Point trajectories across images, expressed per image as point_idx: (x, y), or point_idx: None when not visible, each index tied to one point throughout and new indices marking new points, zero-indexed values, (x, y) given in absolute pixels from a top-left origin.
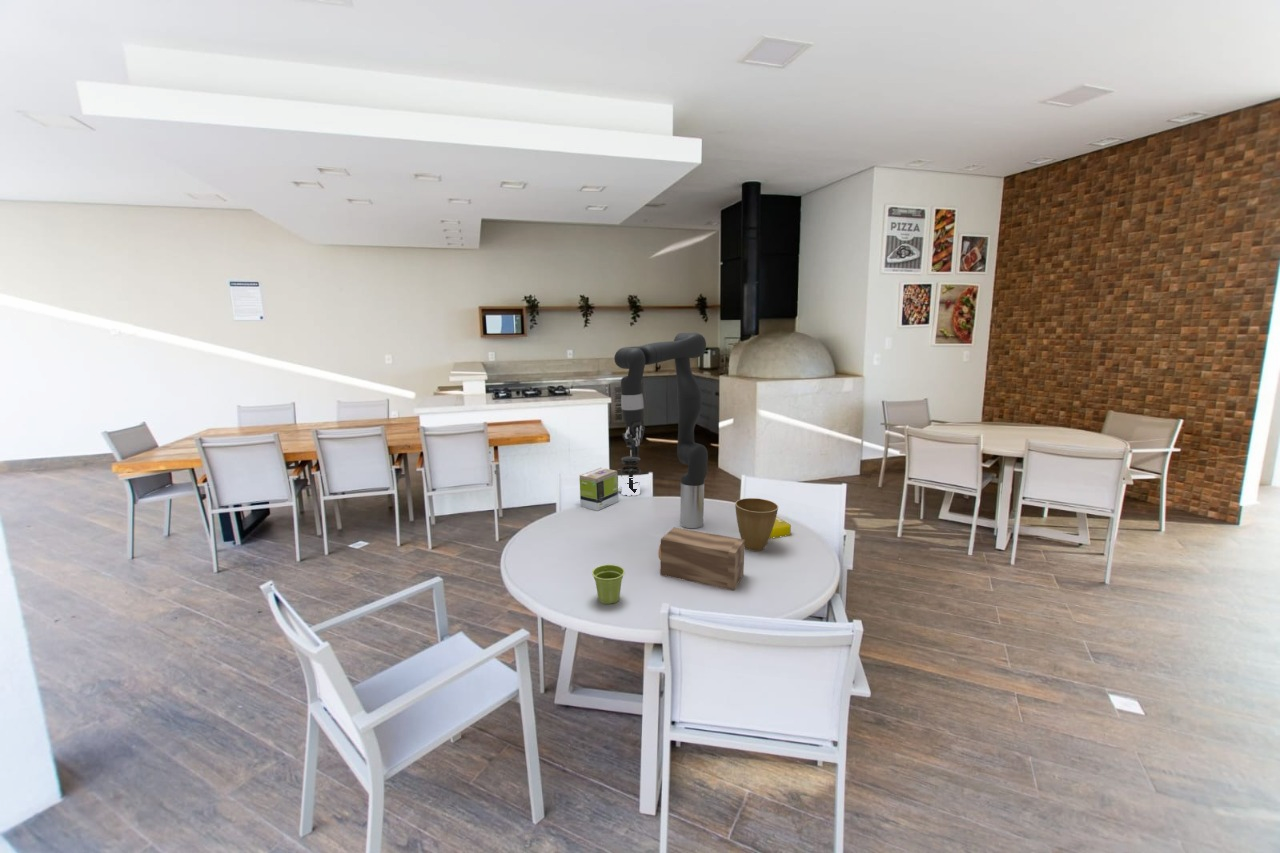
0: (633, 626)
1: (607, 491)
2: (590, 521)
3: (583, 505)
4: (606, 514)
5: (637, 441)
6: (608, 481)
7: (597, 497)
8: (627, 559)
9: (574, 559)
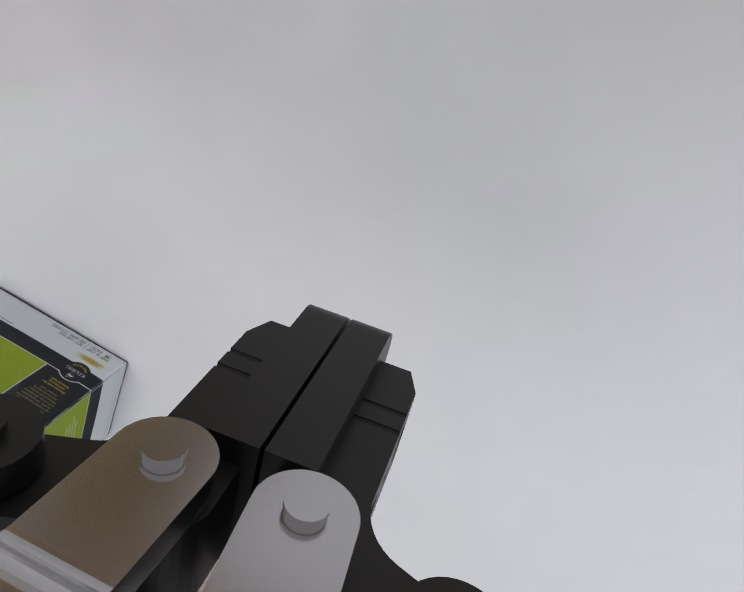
0: None
1: (8, 360)
2: None
3: (106, 427)
4: (150, 318)
5: (157, 549)
6: None
7: (81, 394)
8: (703, 126)
9: (711, 395)
